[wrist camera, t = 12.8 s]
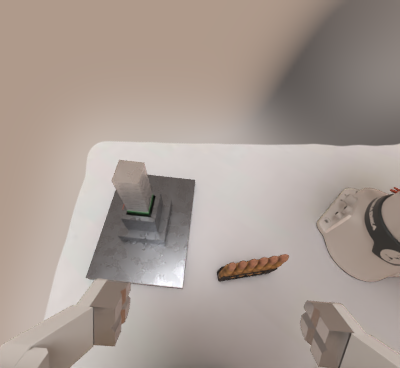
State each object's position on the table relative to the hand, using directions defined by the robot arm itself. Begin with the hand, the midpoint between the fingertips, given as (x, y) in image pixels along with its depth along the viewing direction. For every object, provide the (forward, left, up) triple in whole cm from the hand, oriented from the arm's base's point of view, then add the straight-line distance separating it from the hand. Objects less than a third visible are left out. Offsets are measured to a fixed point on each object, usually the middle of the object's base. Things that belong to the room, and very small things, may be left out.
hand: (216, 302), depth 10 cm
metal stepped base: (-7, -18, -34) cm, 39 cm away
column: (-7, -18, -28) cm, 34 cm away
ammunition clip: (-11, +4, -35) cm, 37 cm away
